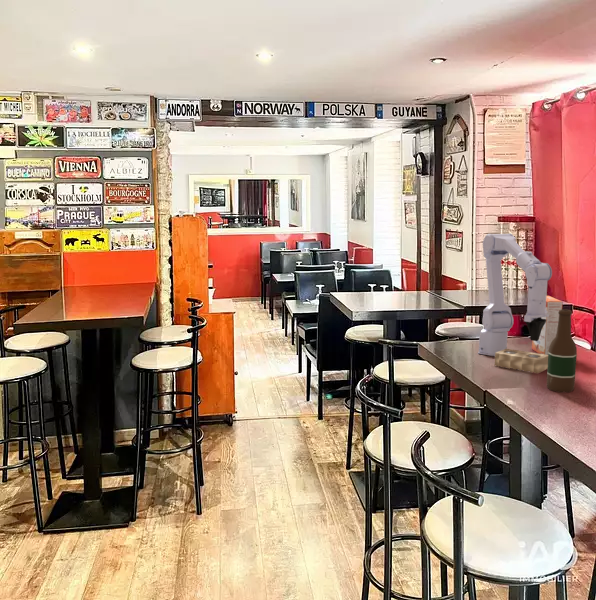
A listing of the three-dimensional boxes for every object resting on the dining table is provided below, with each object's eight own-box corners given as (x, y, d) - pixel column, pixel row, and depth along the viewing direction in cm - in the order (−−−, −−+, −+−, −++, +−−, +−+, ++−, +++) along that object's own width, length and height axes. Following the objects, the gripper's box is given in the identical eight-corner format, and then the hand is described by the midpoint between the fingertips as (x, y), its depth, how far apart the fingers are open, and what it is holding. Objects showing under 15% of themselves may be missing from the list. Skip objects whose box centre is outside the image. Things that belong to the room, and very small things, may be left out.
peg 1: (503, 365, 224) (504, 352, 223) (507, 363, 226) (508, 350, 226) (512, 366, 222) (512, 353, 221) (515, 365, 224) (516, 352, 224)
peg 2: (526, 369, 219) (527, 356, 218) (530, 367, 221) (531, 354, 220) (535, 370, 217) (536, 357, 216) (539, 369, 219) (539, 355, 218)
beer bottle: (573, 386, 198) (578, 308, 194) (575, 393, 191) (580, 312, 187) (545, 384, 200) (550, 307, 197) (546, 391, 193) (551, 311, 189)
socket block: (494, 365, 223) (495, 352, 222) (505, 361, 230) (506, 348, 229) (537, 373, 213) (538, 359, 213) (548, 368, 220) (549, 355, 219)
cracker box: (530, 349, 248) (533, 295, 245) (546, 349, 248) (550, 295, 245) (543, 358, 234) (546, 300, 231) (560, 358, 234) (563, 300, 231)
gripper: (540, 303, 207) (537, 345, 209) (557, 298, 218) (554, 338, 220) (518, 301, 212) (516, 342, 214) (536, 296, 223) (534, 335, 225)
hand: (534, 340), depth 217 cm, fingers closed
